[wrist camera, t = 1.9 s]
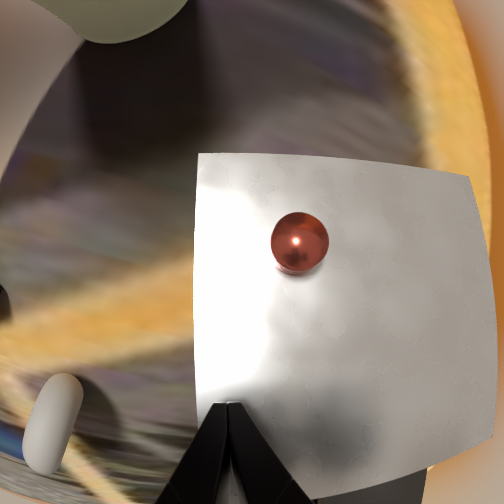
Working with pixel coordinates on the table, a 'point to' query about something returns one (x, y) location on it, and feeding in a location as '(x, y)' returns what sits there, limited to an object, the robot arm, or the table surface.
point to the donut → (52, 422)
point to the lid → (345, 317)
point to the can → (113, 17)
